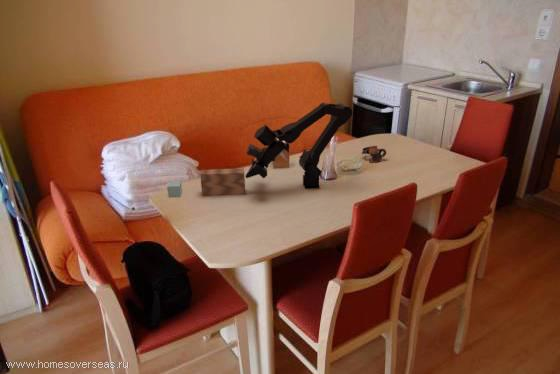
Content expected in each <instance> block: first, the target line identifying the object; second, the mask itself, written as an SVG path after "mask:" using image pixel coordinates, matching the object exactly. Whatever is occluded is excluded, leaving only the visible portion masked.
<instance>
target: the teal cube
mask: <svg viewBox="0 0 560 374" xmlns="http://www.w3.org/2000/svg"><path fill="white" fill-rule="evenodd" d="M166 189H167V195H168V196H167V197H168V198H181V197H182V194H183V187H182V181H169V182H168V184H167V186H166Z"/></svg>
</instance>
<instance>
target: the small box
mask: <svg viewBox="0 0 560 374" xmlns="http://www.w3.org/2000/svg"><path fill="white" fill-rule="evenodd" d="M277 139H278V138H277ZM278 140H279V139H278ZM283 142H284V143H286V142H285V141H283ZM286 144H289V145H290V143H286ZM271 166H272V168H273V169H280V168H284V169H285V168H290V151H289V152H287V151H286V150H285V149H284V150H283V151H282V152H281V153H280V154H279V155H278V156H277V157H276V158H275V161H272V162H271Z"/></svg>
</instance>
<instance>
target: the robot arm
mask: <svg viewBox="0 0 560 374" xmlns="http://www.w3.org/2000/svg"><path fill="white" fill-rule="evenodd" d="M353 114H354V113H353V109H352V108H351V107H350V106H348V105H347V104H344V103H341V102H339V103H336V104H335V103H326V102H321V103H320V104H319V105H318V106H316V107H315V108H313V109H312V110H310V112H308V113H307V114H304V115H303V116H302V117H301V118H299V119H298V120H296V121H294V122H290V123H288V124H285V125H284V126H282V127H280V128H279V129H275V130H272V129H270V127H269V126H268V125H267V124H264V126H262V127H260V128H258V129H257V130H256V131H255V133H254V135H253V138H255V139H256V140H257V141H258V142H259V143H260V144H262V145H263V146H264V147H262V148H260V147H258V146H256V145H253V144H249V145H248V147H247V149H246V155H248V156H251V157H254V159H253V158H252V159H251V166H250V167H249V169H248V171H247V172H246V174H245V175H244V176H245V178H246V179H249V178H251V177H255V176H258V175H259V176H260V177H261V178H262V179H265V178H266V177H267V176H268V168H269V165H270V164H272V161H275V158H276V157H277V156H278V155H279V154H280V153H281V152H282V151H283V150H284V149H285V150H286V151H287V152H289V153H290V144H293V143H295V142H296V140H297V139H299V138H300V137H301V135H302V133H303V132H304V131H305V130H307V129H308V128H309V127H310V126H312V125H314V124H315V123H316V122H317V121H319V120H320V119H322V118H323V117H325V116H326V115H328V116H329V115H330V120H329V122H328V123H327V125H326V126H325V128H324V129H323V131H322V132H321V134H320V135H319V137H318V138H317V140H316V141H315V142H314V144H313V145H312V147H311V148H310V149H308V150H306V149H304V150H303V152H302V154H301V155H300V156H299V160H298V165H299V167H301V169H302V170H304V171H303V175H302V185H303V187H304V189H306V190H309V189H310V190H311V189H320V188H321V187H320V176H321V175H322V172H323V171H322V170H321V169H320V168H319V166H318V165H319V163H320V160H321V159H320V157H321V155H322V153H323V152H324V151H325V149H326V147H328V145H329V143H330V142H331V140H332V139H333V137H334V136H335V134H336V133H337V132H338V130H339V129H340V128H341V127H342V126H344V125H345V124H346V123H348V121H350V120H351V118H352V117H353ZM278 139H279V140H278ZM283 141H285V142H286V143H289V144H286V143H284V142H283Z"/></svg>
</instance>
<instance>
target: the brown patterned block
mask: <svg viewBox="0 0 560 374" xmlns="http://www.w3.org/2000/svg"><path fill="white" fill-rule="evenodd" d="M200 170H201V171H200V174H199V176H200V178H199V179H200V187H201V188H200V189H201V197H212V196H213V197H214V196H217V197H218V196H235V195H237V196H238V195H239V196H240V195H246V179H245V178H246V177H245V176H246V175H245V168H243V167H242V168H241V167H239V168H216V169H215V168H214V169H200Z"/></svg>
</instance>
